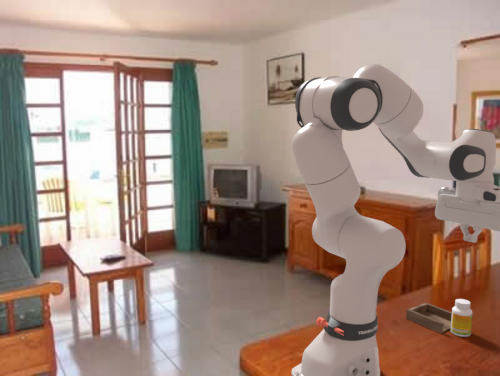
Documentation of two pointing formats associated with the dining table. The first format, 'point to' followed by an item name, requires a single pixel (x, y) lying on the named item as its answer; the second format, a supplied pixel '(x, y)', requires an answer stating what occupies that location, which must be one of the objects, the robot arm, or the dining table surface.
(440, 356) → the dining table surface
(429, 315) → the tray
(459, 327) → the supplement bottle
